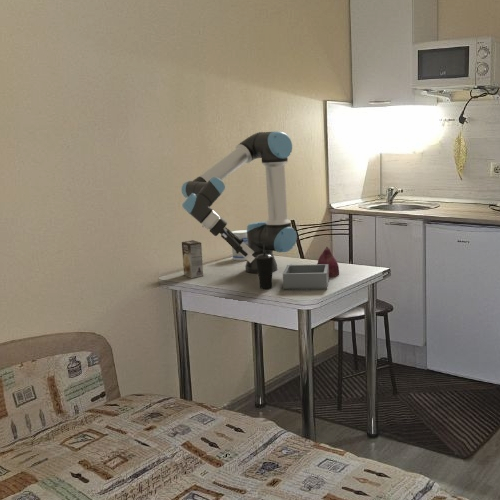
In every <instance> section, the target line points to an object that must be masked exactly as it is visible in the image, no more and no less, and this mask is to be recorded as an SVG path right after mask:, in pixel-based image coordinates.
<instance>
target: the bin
mask: <svg viewBox="0 0 500 500" xmlns="http://www.w3.org/2000/svg"><path fill="white" fill-rule="evenodd" d="M329 282H330V277H329V266H328V264H317V263H316V264H315V263H314V264H287V265H286V267H285V268H284V270H283V273H282V286H283V287H282V288H283V291H327V290H328V288H327V287H329Z"/></svg>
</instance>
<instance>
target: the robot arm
mask: <svg viewBox="0 0 500 500" xmlns="http://www.w3.org/2000/svg"><path fill="white" fill-rule="evenodd" d="M292 151H293V143H292V140H291V138H290V137H289V135H288V134H287V133H285V132H283V131H266V132H265V131H261V132H260V131H259V132H255V133H254V134H251V135H250V136H248V137H246V138H245V139H243V140H242V141H240V142H239V143H238V144H237V145H236V146H235V149H234V150H232V151H231V152H230V153H228V154H227V155H226V156H224V157H223V158H221V159H220V160H219V161H217V162H216V163H215V164H213V165H212V166H211V167H209V168H208V169H207V170H205V171H204V172H202V174H200V175H199V176H197V177H195V179H193V180H188V181H185V182H184V183H182V186H181V194H182V196H183V197H185V198H186V199H185V200H184V201H183V203H182V208H183V209H184V210H185V211H186V212H187V213H188V214H189V215H191V217H192V218H194V219H195V220H196V221H197V222H198V223H200V224H201V226H202V228H205V229H206V230H209V233H211V234H212V235H213V236H214V237H217V236H218V235H219V234H220V237H221V238H222V239H223V240H224V241H226V243H227V244H229V245H230V246H231V248H232V247H233V248H234V249H235V250H236V253H237V254H238V253H240V254H241V255H242V256H243V257H244V258H245V259H246V260H245V263H246V264H245V266H244V267H245V272H246V273H250V274H258V268H257V261H256V258H255V257H256V256H258V255H259V254H263V241H264V242H265V253H267V254H270V255H273V256H274V257H273V269H272V273H273V272H275V271H277V270H278V264H277V261H276V259H275V255H274V252H277V253H288V252H289V251H291V250H292V249H293V248H294V246H295V245H296V244H297V243H296V242H297V238H298V235H297V231H296V230H295V228H293V227H292V222H291V220H290V219H289V218H288V209H287V208H288V206H287V205H288V203H287V190H286V188H287V185H286V171H285V169H286V168H285V166H286V164H287V163H288V160H289V159H288V157H290V156H291V153H292ZM256 159H261V164H262V165H263V166H264V167H265V179H266V180H265V182H266V183H265V184H266V197H267V198H266V200H267V201H266V202H267V220H266V221H257V222H256V221H255V222H251V223H249V224H247V226H246V230H247V240H248V246H247V245H246V244H245V243H244V242H243V241H244V240H243V239H242V240H241V239H240V238H239V237H237V236H236V235H235V234H233V233H232V231H231V230H230V229H229V228H227V227H226V226H227V225H228V222H227V221H226V220H224V219H223V218H222V217H220V215H219V214H218V213H217V212H216V211H215V210H213V208H211V207H212V205H213V204H214V203H215V202H216V201H217V200H218V199H219V197H220V196H221V195H222V194H223V192H224V191H225V189H226V185H225V183H224V182H223V180H224V179H226V178H227V177H228V176H230V175H232V173H234V172H235V171H236V170H238V169H239V168H240V167H242V166H243V165H244V164H250V163H251V162H252V161H254V160H256Z"/></svg>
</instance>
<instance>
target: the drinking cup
mask: <svg viewBox="0 0 500 500" xmlns="http://www.w3.org/2000/svg"><path fill="white" fill-rule="evenodd" d="M273 255H274V254H273ZM273 255H270V254H267V253H265V242H264V241H263V254H259V255H258V256H256V257H255V258H256V261H257V268H258V273H257V274H258V279H259V280H258V281H259V286H260V287H259V288H260V289H261V290H269V289H272V288H273V272H272V269H273V257H274V258H275V255H274V256H273Z"/></svg>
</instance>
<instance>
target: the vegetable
mask: <svg viewBox="0 0 500 500" xmlns="http://www.w3.org/2000/svg"><path fill="white" fill-rule="evenodd" d="M316 264H328V266H329V278H334V277H337V276H339V275H340V267H339V264H338V261H337V260H336V258H335V256H334V255H333V253H332V252H331V249H330V248H329V247H328V246H326V247H325V248H324V249H323V251H322V252H321V254H320V256H319V257H318V260H317V263H316Z"/></svg>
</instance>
